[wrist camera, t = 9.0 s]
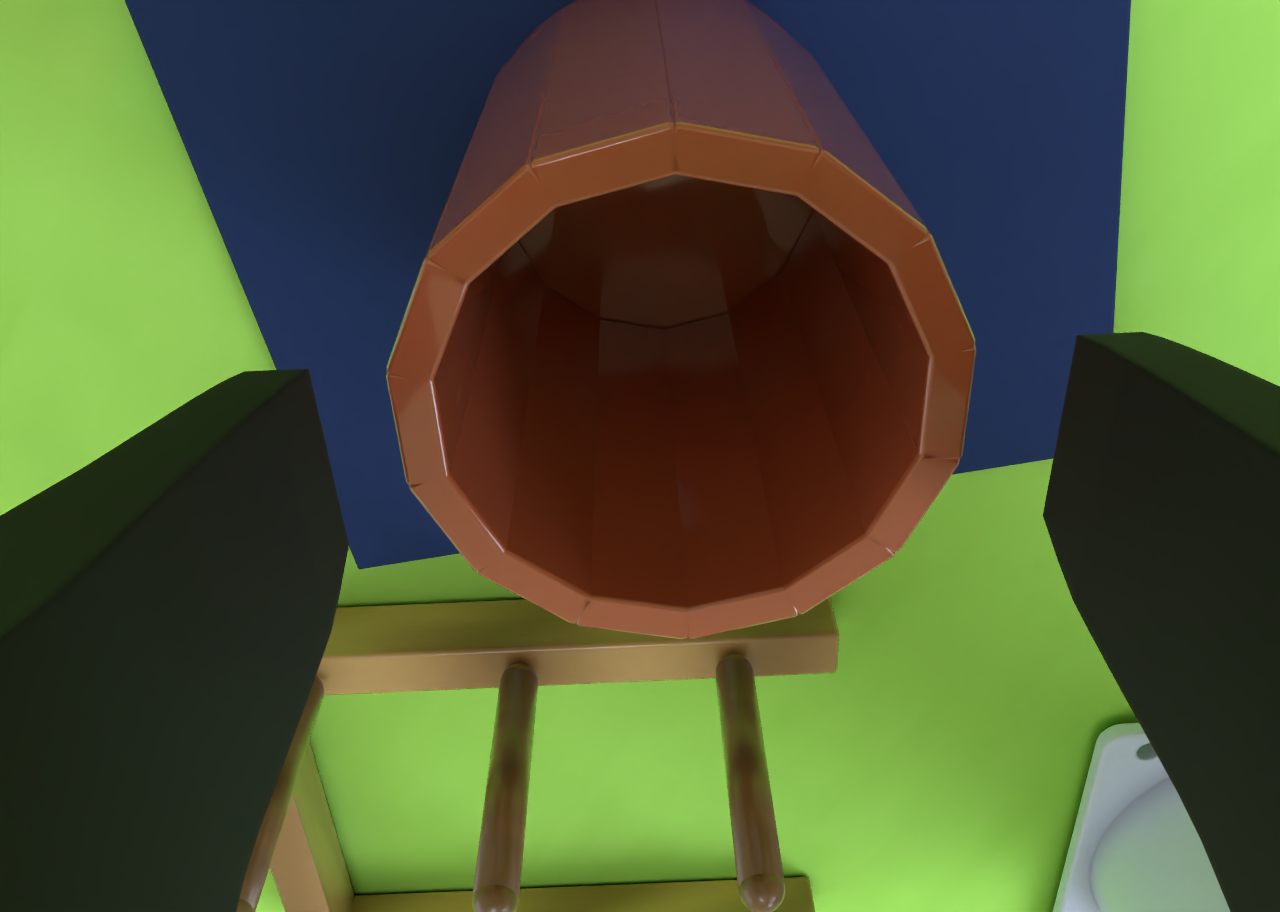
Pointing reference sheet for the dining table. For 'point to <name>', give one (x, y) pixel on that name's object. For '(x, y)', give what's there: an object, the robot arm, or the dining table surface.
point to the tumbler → (677, 330)
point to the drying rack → (518, 663)
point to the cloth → (450, 109)
